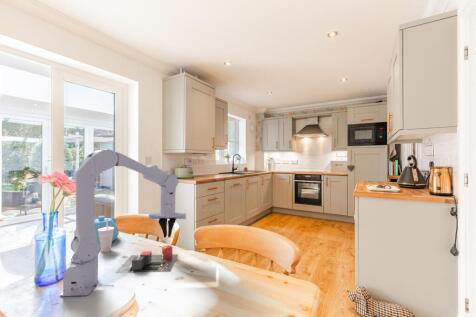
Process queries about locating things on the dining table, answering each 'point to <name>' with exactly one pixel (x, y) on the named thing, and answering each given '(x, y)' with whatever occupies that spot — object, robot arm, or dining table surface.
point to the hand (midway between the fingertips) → (167, 236)
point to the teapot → (102, 223)
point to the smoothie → (105, 237)
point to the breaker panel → (149, 265)
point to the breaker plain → (137, 263)
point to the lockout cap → (167, 252)
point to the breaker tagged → (147, 256)
